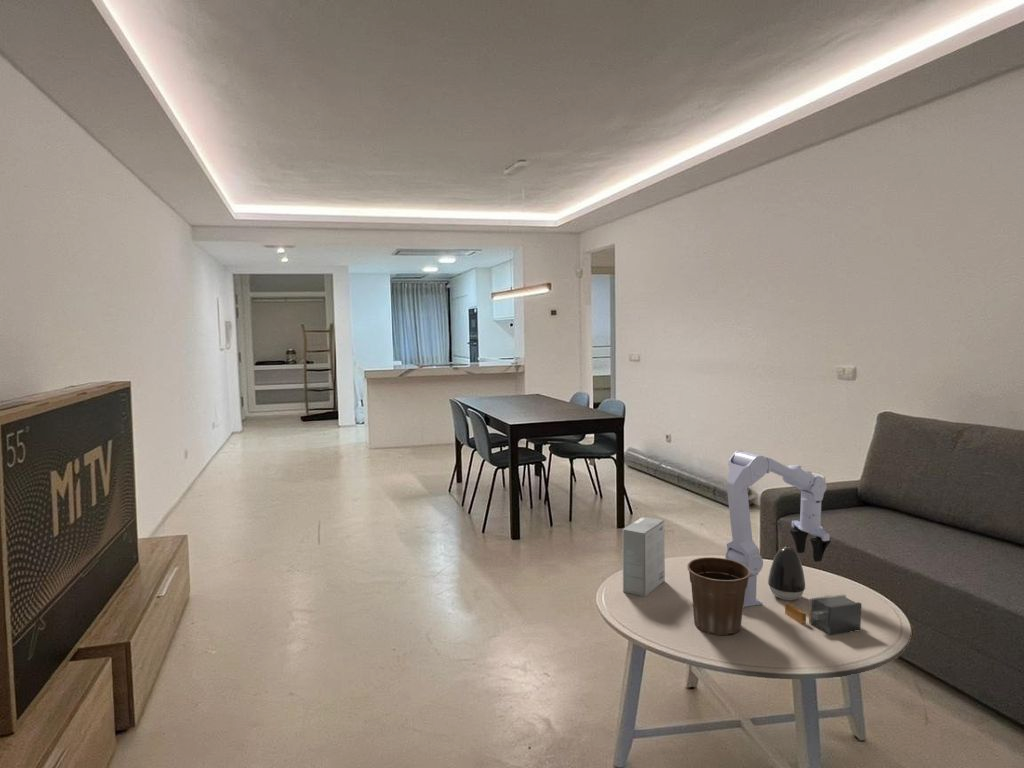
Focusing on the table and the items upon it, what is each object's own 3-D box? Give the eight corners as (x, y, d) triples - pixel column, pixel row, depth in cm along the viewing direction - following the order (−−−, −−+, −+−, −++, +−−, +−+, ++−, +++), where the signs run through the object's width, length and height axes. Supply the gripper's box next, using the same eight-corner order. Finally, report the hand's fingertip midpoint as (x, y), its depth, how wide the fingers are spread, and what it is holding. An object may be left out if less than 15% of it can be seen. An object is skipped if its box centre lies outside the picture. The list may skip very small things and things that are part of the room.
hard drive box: (642, 575, 211) (643, 516, 209) (665, 581, 206) (665, 519, 204) (621, 591, 198) (621, 528, 196) (644, 597, 194) (645, 532, 192)
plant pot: (749, 644, 165) (750, 583, 163) (683, 634, 170) (684, 575, 169) (749, 617, 180) (750, 561, 178) (689, 609, 185) (690, 554, 184)
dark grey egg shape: (803, 592, 196) (804, 543, 195) (806, 606, 187) (808, 555, 185) (767, 588, 200) (768, 540, 198) (768, 601, 190) (769, 551, 189)
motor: (820, 636, 168) (821, 609, 168) (785, 613, 182) (785, 588, 181) (869, 629, 172) (870, 602, 172) (831, 607, 186) (832, 582, 185)
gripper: (839, 519, 191) (837, 563, 192) (805, 506, 205) (804, 547, 206) (818, 520, 189) (816, 565, 191) (786, 507, 203) (785, 549, 205)
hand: (809, 556), depth 198 cm, fingers open, 7 cm apart
